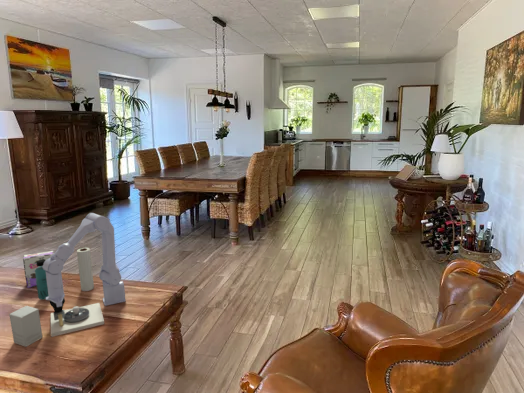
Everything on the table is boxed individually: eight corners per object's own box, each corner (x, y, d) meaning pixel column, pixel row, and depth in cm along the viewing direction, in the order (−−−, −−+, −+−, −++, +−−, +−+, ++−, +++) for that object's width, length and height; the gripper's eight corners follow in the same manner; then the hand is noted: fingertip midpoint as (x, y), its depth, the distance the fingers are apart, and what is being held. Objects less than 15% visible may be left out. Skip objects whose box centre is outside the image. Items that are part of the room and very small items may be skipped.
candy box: (26, 288, 195) (22, 258, 192) (27, 283, 200) (23, 254, 197) (56, 282, 201) (53, 253, 198) (56, 278, 206) (53, 250, 203)
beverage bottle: (35, 301, 182) (29, 262, 178) (47, 295, 188) (42, 257, 184) (44, 303, 180) (39, 264, 175) (57, 297, 186) (52, 259, 181)
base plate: (99, 305, 178) (98, 292, 176) (104, 324, 162) (102, 310, 161) (51, 316, 168) (49, 302, 167) (51, 336, 153) (49, 322, 152)
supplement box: (43, 337, 153) (39, 308, 150) (25, 347, 146) (21, 317, 143) (31, 333, 156) (26, 305, 153) (13, 342, 149) (8, 313, 146)
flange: (87, 308, 172) (86, 299, 171) (91, 318, 164) (90, 309, 163) (53, 316, 165) (52, 308, 164) (55, 327, 156) (54, 318, 156)
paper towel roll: (88, 292, 191) (84, 252, 186) (78, 290, 193) (73, 250, 188) (98, 286, 198) (94, 247, 193) (88, 284, 199) (84, 246, 195)
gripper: (42, 282, 163) (46, 310, 166) (46, 295, 152) (50, 325, 155) (60, 278, 167) (64, 306, 170) (66, 290, 156) (69, 320, 159)
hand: (59, 315), depth 163 cm, fingers closed
